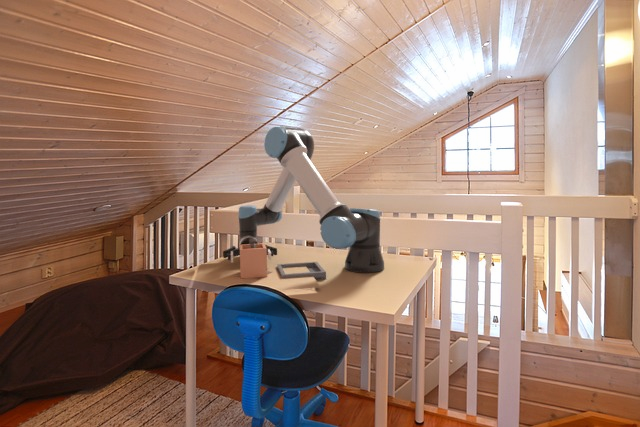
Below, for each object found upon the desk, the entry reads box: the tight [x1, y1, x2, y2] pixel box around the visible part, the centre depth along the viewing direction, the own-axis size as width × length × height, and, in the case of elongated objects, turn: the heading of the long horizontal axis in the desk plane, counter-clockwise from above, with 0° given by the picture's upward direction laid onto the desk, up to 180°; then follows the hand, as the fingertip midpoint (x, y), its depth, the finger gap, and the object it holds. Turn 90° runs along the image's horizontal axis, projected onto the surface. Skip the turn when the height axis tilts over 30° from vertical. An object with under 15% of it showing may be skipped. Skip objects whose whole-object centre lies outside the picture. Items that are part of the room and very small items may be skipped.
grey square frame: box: [276, 261, 327, 281], centre depth 145 cm, size 15×15×2 cm
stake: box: [233, 237, 273, 280], centre depth 141 cm, size 10×10×15 cm
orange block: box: [239, 242, 268, 279], centre depth 141 cm, size 9×9×10 cm
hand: (251, 257), depth 143 cm, fingers open, 13 cm apart
